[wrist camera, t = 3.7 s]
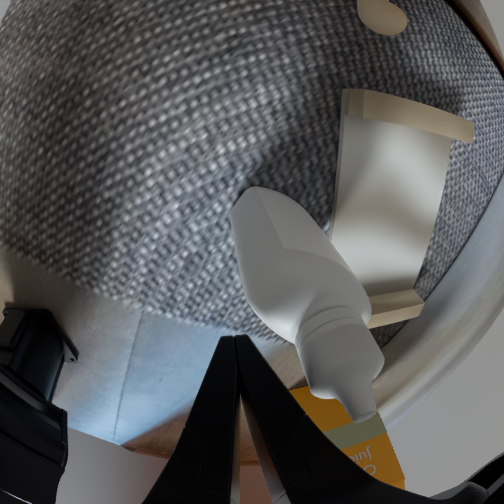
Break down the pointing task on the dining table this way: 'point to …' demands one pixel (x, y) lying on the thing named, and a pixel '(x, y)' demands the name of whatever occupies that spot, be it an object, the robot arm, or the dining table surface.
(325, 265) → the eye dropper bottle
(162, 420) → the dining table surface
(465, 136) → the u rest
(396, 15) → the kitten
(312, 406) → the orange juice
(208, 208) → the dining table surface
